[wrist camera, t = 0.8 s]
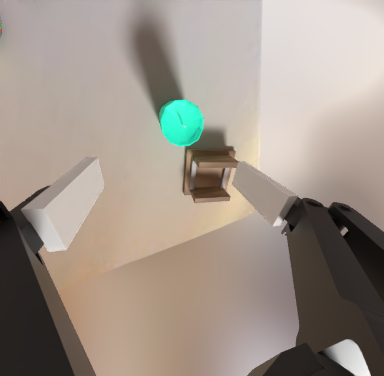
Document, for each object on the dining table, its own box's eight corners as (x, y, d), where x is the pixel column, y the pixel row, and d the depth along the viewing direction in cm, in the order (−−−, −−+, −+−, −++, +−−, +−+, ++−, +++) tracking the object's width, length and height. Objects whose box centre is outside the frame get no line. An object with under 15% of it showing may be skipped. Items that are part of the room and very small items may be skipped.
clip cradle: (186, 148, 31) (192, 157, 26) (233, 150, 34) (247, 158, 29) (183, 193, 37) (188, 206, 32) (224, 191, 40) (233, 203, 35)
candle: (194, 117, 28) (216, 124, 18) (175, 140, 30) (186, 158, 20) (171, 92, 25) (182, 85, 15) (152, 119, 27) (151, 128, 17)
